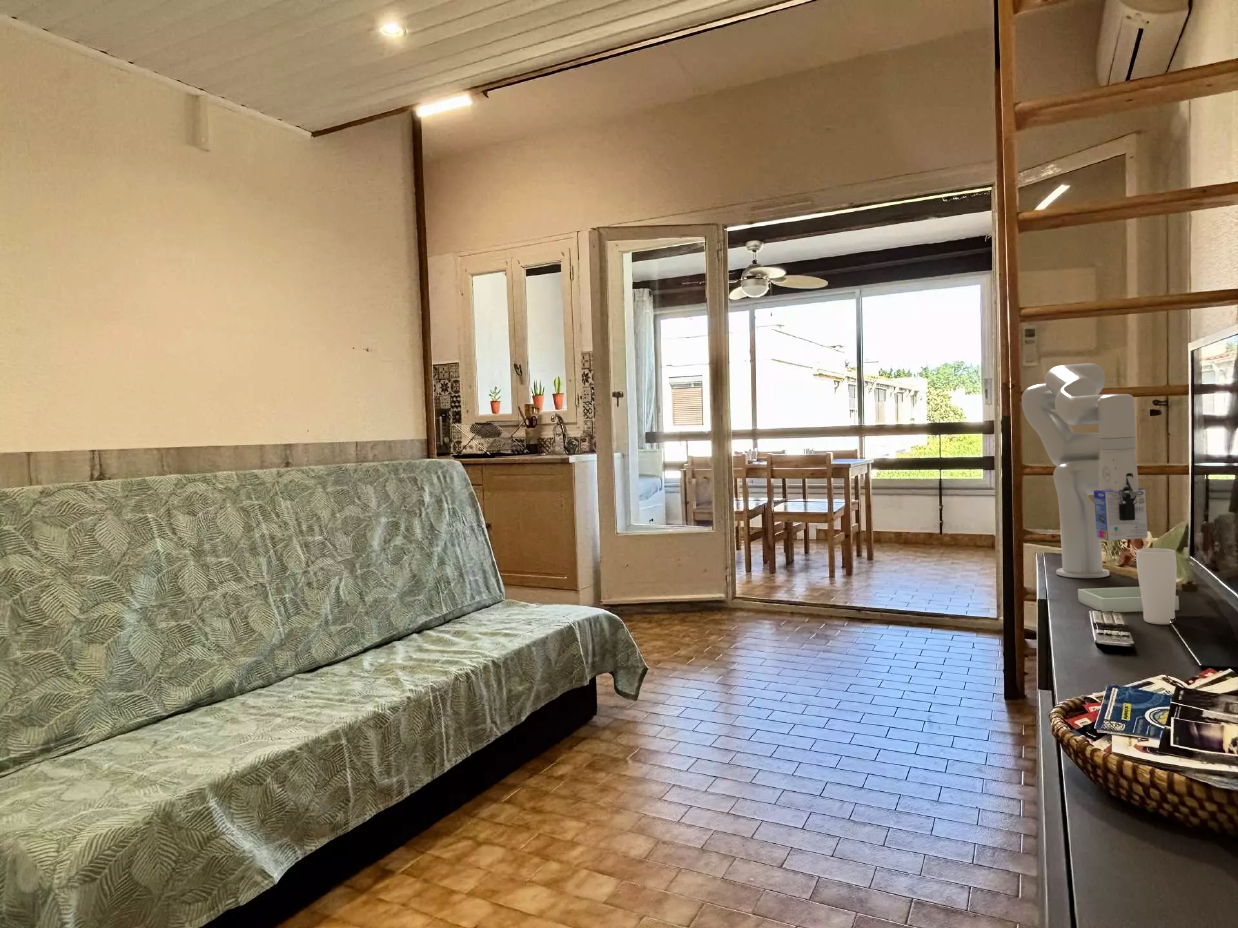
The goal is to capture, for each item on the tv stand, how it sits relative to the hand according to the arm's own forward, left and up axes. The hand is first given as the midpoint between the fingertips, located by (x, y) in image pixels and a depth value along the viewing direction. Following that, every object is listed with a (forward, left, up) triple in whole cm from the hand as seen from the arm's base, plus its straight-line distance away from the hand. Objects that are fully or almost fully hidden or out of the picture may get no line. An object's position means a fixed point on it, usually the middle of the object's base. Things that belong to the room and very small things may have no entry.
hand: (1120, 517), depth 188 cm
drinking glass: (+31, -8, -19) cm, 37 cm away
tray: (+15, -7, -18) cm, 24 cm away
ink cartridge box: (0, 0, -5) cm, 5 cm away
